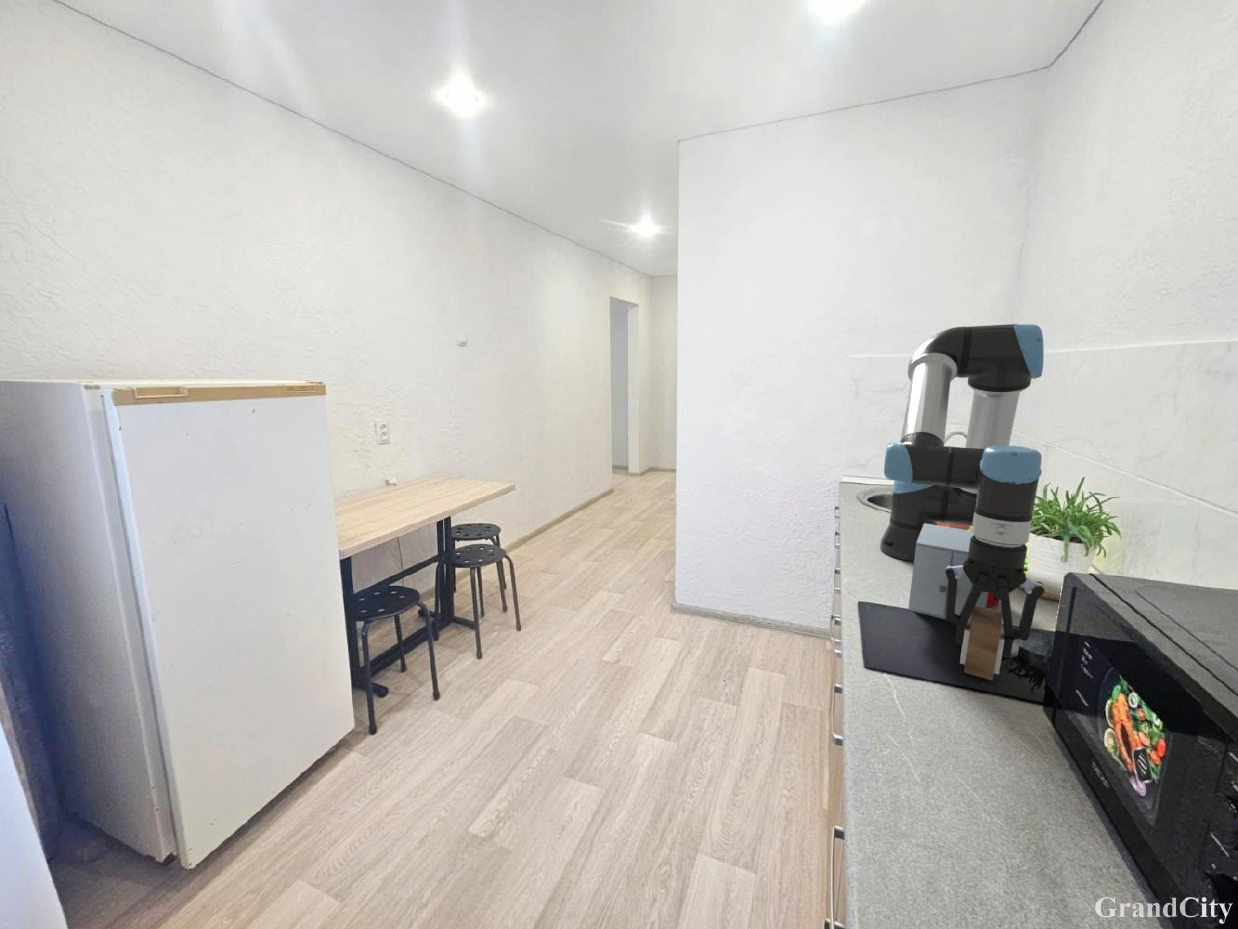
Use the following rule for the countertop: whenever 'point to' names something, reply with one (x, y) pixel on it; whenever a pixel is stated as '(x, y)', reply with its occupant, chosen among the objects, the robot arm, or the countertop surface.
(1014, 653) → the token
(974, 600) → the robot arm
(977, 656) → the upright wooden brick
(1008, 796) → the countertop surface
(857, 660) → the countertop surface
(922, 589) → the cabinet
